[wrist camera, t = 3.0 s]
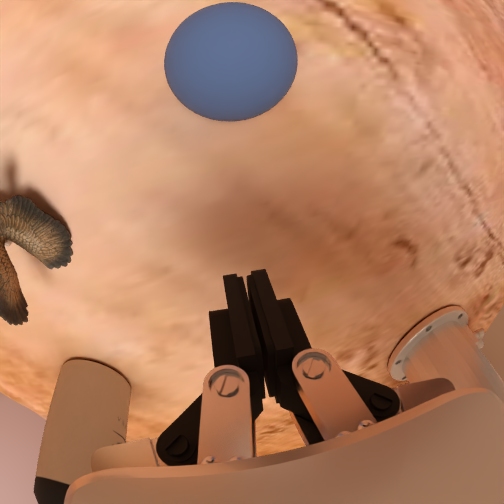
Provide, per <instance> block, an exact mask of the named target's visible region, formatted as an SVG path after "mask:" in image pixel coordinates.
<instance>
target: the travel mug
mask: <svg viewBox="0 0 504 504" xmlns="http://www.w3.org/2000/svg"><path fill="white" fill-rule="evenodd" d="M130 395H131V388H130V385H129V383H128V382H127V381H126V380H125V379H124V378H123V377H122V376H121V375H120V374H119V373H117V372H116V371H114V370H112V369H110V368H109V367H106V366H104V365H102V364H99V363H96V362H92V361H88V360H70V361H67V362H66V363H64V364H63V366H62V368H61V371H60V374H59V377H58V381H57V384H56V387H55V391H54V394H53V397H52V401H51V405H50V408H49V412H48V416H47V420H46V425H45V429H44V433H43V438H42V443H41V448H40V453H39V458H38V464H37V471H36V478H35V485H34V493H35V496H36V499H37V501H38V504H64V500H65V496H66V493H67V490H68V488H69V486H70V485H71V484H72V483H73V482H74V481H75V480H77V479H78V478H80V477H82V476H84V475H87V474H90V473H92V468H91V457H92V455H93V453H94V452H95V451H96V450H97V449H100V448H102V447H107V446H112V445H117V444H122V443H126V433H127V422H128V412H129V403H130Z"/></svg>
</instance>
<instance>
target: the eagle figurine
mask: <svg viewBox="0 0 504 504" xmlns="http://www.w3.org/2000/svg"><path fill="white" fill-rule="evenodd" d="M70 238H71V235H70V234H69V232H68V230H66V229H65V226H64V225H63V224H61V223H60V221H59V220H54V218H53V217H51V216H50V215H49V214H45V213H44V212H43V211H42V210H40V208H38V207H35V203H33V202H32V200H31V199H28V198H27V197H22V196H20V195H18V196H13V197H12V198H11V199H7V200H6V201H5V203H4V202H0V317H2V318H3V319H4V320H5V321H7V322H8V323H9V324H10V325H11V324H14V325H18V324H20V325H23V322H28V318H27V316H28V311H27V309H26V307H27V306H28V305H27V303H26V300H25V298H24V296H23V294H22V291H21V288H20V285H19V280H18V277H17V273H16V271H15V268H14V266H13V264H12V262H11V260H10V258H9V256H8V254H7V251H6V249H5V246H4V245H6V246H10V245H11V243H12V242H14V243H16V244H17V245H19V246H20V247H22V248H23V249H25V250H26V251H27V252H29V253H30V254H32V255H33V256H35V257H36V258H38V259H39V260H40V261H41V262H42V263H43V264H44V265H46V266H47V267H48V268H49V269H53V268H54V267H55V268H60V267H61V265H62V266H64V267H66V266H67V263H70V262H71V258H70V256H72V255H73V252H72V250H71V248H70V247H69V246H71V245H72V242H71V241H70V240H69V239H70Z"/></svg>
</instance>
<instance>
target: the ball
mask: <svg viewBox="0 0 504 504" xmlns="http://www.w3.org/2000/svg"><path fill="white" fill-rule="evenodd" d="M164 67H165V74H166V78H167V81H168V84H169V86H170V88H171V90H172V92H173V93H174V95H175V96H176V97H177V98H178V100H179V101H180V102H181V103H182V104H183V105H185V106H186V107H187V108H188V109H190V110H191V111H193V112H195V113H197V114H199V115H201V116H203V117H206V118H209V119H213V120H218V121H240V120H246V119H250V118H253V117H256V116H258V115H261V114H263V113H264V112H266V111H268V110H269V109H271V108H272V107H274V106H275V105H276V104H277V103H278V102H279V101H280V100H281V99H282V98H283V97H284V96H285V95H286V93H287V92H288V90H289V89H290V87H291V85H292V83H293V81H294V78H295V75H296V71H297V51H296V47H295V43H294V40H293V38H292V36H291V34H290V32H289V31H288V29H287V28H286V27H285V25H284V24H283V23H282V22H281V21H280V20H279V19H278V18H277V17H275V16H274V15H272V14H271V13H270V12H268V11H266V10H264V9H262V8H260V7H257V6H254V5H250V4H246V3H238V2H227V3H219V4H215V5H211V6H208V7H205V8H203V9H201V10H199V11H197V12H195V13H193V14H192V15H191V16H189V17H188V18H187V19H185V20H184V21H183V22H182V23H181V24H180V25H179V26H178V28H177V29H176V30H175V32H174V33H173V35H172V37H171V39H170V41H169V43H168V45H167V49H166V52H165V60H164Z"/></svg>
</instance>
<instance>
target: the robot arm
mask: <svg viewBox="0 0 504 504" xmlns="http://www.w3.org/2000/svg"><path fill="white" fill-rule="evenodd" d="M223 280H224V286H225V293H226V299H227V305H228V309H223V310H216V311H209V320H210V330H211V339H212V349H213V357H214V366H215V368H214V369H212V370H211V371H210V372H209V373H208V374H207V375H206V377H205V379H204V383H203V393H202V394H201V395H200V396H199V397H198V398H197V399H196V400H195V401H194V402H193V403H192V404H191V405H190V406H189V407H188V408H187V409H186V410H185V411H184V412H183V413H182V414H181V415H180V416H179V417H178V418H177V419H176V420H175V421H174V422H173V423H172V424H171V425H170V426H169V427H168V428H167V429H166V430H165V431H164V432H163V433H162V434H161V435H160V436H159V437H158V438H154V439H150V438H145V439H141V440H136V441H132V442H127V443H122V444H117V445H112V446H107V447H102V448H100V449H97V450H96V451H95V452H94V453H93V455H92V457H91V468H92V473H90V474H87V475H84V476H82V477H80V478H78V479H77V480H75V481H74V482H73V483H72V484H71V485H70V486H69V488H68V490H67V493H66V496H65V500H64V504H504V382H503V381H502V379H501V378H500V376H499V375H498V374H497V372H496V371H495V369H494V368H493V366H492V365H491V364H490V362H489V361H488V360H487V358H486V357H485V356H484V354H483V353H482V351H481V350H480V349H482V348H483V345H484V342H483V339H482V338H483V337H484V335H485V331H484V330H483V329H482V328H481V329H478V330H476V331H475V332H472V331H471V330H470V329H469V327H468V326H467V325H468V315H467V313H466V312H465V311H464V309H463V308H461V307H459V306H450V307H446V308H443V309H441V310H439V311H437V312H435V313H433V314H432V315H430V316H429V317H427V318H426V319H424V320H423V321H422V322H420V323H419V324H418V325H417V326H416V327H414V328H413V329H412V330H411V331H410V332H409V333H408V334H407V335H406V336H405V337H404V338H403V339H402V341H401V342H400V343H399V344H398V346H397V347H396V348H395V350H394V351H393V353H392V355H391V357H390V359H389V363H388V371H389V373H390V375H391V377H392V378H393V379H395V380H398V381H405V380H408V382H409V384H404V385H398V386H397V388H392V389H391V388H389V387H387V386H385V385H382V384H379V383H376V382H374V381H371V380H368V379H365V378H363V377H360V376H357V375H355V374H352V373H350V372H347V371H344V370H342V369H341V368H340V367H339V365H338V364H337V362H336V361H335V359H334V358H333V357H332V356H331V355H330V354H329V353H328V352H326V351H324V350H321V349H312V348H311V345H310V343H309V341H308V338H307V336H306V333H305V331H304V329H303V326H302V324H301V322H300V319H299V317H298V315H297V312H296V310H295V308H294V305H293V303H292V301H291V299H290V298H287V299H281V300H277V299H276V296H275V294H274V291H273V288H272V286H271V283H270V280H269V278H268V275H267V272H266V270H265V269H262V270H256V271H251V275H248V276H247V287H248V296H247V292H246V288H245V284H244V280H243V277H237V274H231V275H224V276H223ZM248 297H249V300H248ZM264 378H265V382H266V386H267V390H268V394H269V397H274V396H275V399H276V403H280V407H282V408H284V409H286V410H288V411H289V413H290V416H291V418H292V420H293V422H294V423H295V425H296V427H297V429H298V431H299V433H300V435H301V437H302V439H303V441H304V443H305V445H306V446H305V447H301V448H297V449H293V450H289V451H284V452H280V453H275V454H270V455H265V456H260V457H257V448H256V423H255V420H256V418H257V417H258V416H259V415H260V413H261V412H262V411H263V403H262V399H264V398H265V385H264Z"/></svg>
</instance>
